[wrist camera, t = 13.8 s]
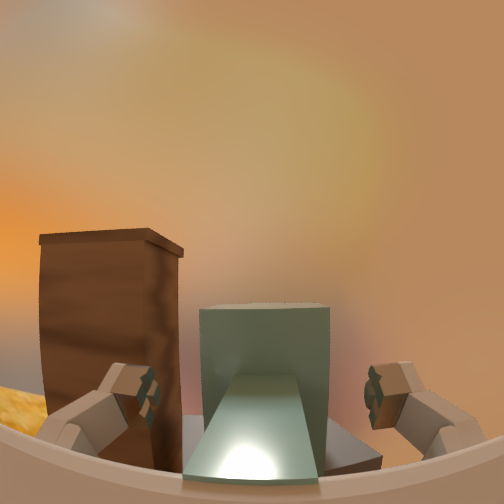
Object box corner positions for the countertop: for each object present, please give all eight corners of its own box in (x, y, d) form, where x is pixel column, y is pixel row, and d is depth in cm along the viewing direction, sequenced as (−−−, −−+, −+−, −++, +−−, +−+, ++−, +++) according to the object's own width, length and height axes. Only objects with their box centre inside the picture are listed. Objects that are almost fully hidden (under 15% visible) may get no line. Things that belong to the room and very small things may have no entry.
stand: (173, 552, 16) (148, 227, 20) (74, 524, 17) (39, 234, 21) (195, 502, 25) (183, 248, 29) (111, 486, 25) (92, 251, 29)
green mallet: (353, 601, 4) (405, 328, 6) (155, 595, 5) (99, 329, 6) (310, 422, 21) (311, 301, 22) (228, 423, 21) (224, 303, 22)
